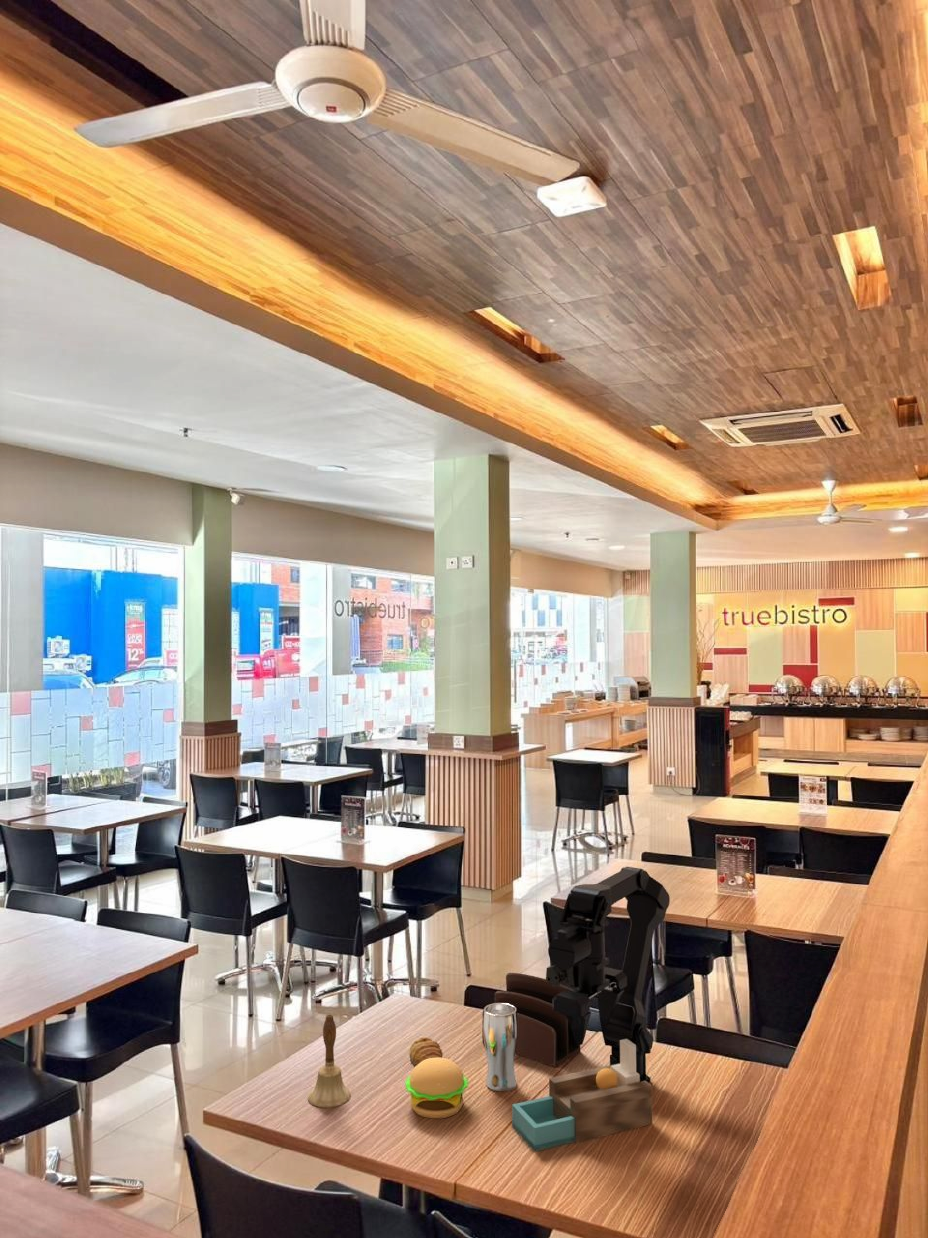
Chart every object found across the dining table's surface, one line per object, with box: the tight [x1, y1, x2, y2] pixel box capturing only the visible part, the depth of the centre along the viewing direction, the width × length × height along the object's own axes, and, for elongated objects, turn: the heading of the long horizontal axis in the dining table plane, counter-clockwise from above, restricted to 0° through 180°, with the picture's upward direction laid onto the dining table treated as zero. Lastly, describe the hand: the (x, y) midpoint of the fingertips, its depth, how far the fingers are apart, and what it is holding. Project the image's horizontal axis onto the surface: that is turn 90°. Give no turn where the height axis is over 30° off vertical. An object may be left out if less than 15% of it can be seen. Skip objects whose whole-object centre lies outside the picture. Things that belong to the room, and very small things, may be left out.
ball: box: [596, 1068, 618, 1090], centre depth 169 cm, size 4×4×4 cm
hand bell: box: [307, 1013, 352, 1109], centre depth 178 cm, size 8×8×16 cm
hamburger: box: [405, 1057, 469, 1119], centre depth 174 cm, size 12×12×9 cm
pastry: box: [408, 1037, 444, 1066], centre depth 193 cm, size 9×7×4 cm
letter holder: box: [481, 972, 581, 1068], centre depth 200 cm, size 10×20×14 cm, turn 50°
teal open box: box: [511, 1095, 576, 1152], centre depth 164 cm, size 8×9×4 cm
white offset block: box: [611, 1039, 640, 1087], centre depth 171 cm, size 3×5×8 cm, turn 23°
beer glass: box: [482, 1002, 518, 1092], centre depth 183 cm, size 7×7×15 cm
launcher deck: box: [548, 1063, 653, 1144], centre depth 169 cm, size 16×10×7 cm, turn 113°
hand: (591, 1035), depth 174 cm, fingers open, 9 cm apart
